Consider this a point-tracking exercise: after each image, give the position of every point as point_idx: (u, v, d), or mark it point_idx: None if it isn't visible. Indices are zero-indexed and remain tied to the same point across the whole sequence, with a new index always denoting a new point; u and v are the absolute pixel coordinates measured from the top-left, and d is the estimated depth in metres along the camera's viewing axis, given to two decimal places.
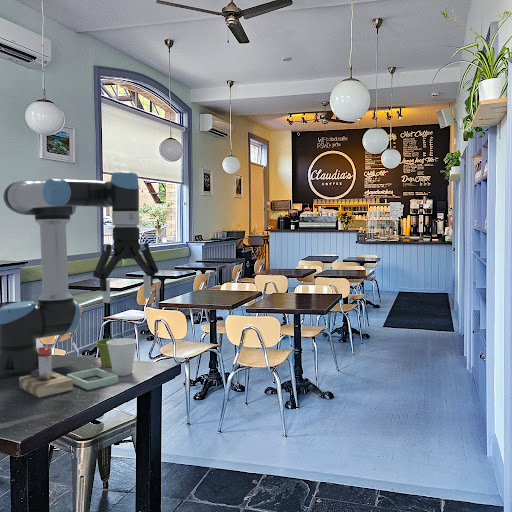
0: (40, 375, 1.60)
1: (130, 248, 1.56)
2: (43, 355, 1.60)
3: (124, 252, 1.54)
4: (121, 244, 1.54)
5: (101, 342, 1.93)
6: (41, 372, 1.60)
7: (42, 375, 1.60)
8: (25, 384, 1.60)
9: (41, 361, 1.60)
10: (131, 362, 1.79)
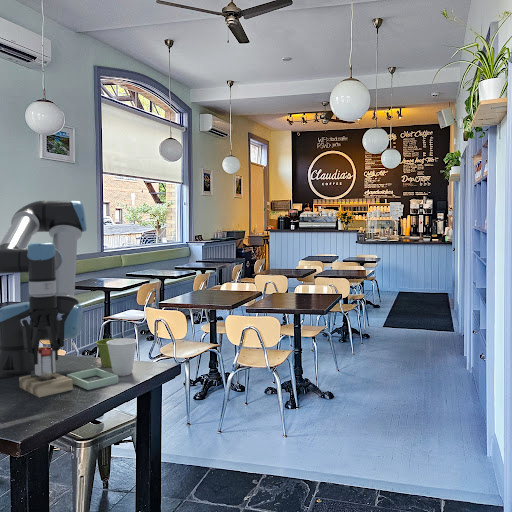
0: None
1: (47, 315, 1.60)
2: (43, 355, 1.60)
3: (42, 321, 1.58)
4: (35, 312, 1.58)
5: (101, 342, 1.93)
6: (41, 372, 1.60)
7: (42, 375, 1.60)
8: (25, 384, 1.60)
9: (41, 361, 1.60)
10: (131, 362, 1.79)
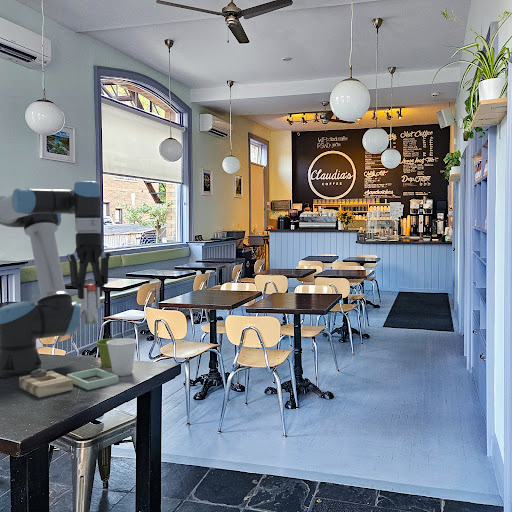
0: (86, 310, 1.65)
1: (93, 251, 1.65)
2: (89, 290, 1.65)
3: (88, 257, 1.64)
4: (82, 248, 1.63)
5: (101, 342, 1.93)
6: (87, 306, 1.65)
7: (88, 310, 1.65)
8: (25, 384, 1.60)
9: (87, 296, 1.65)
10: (131, 362, 1.79)
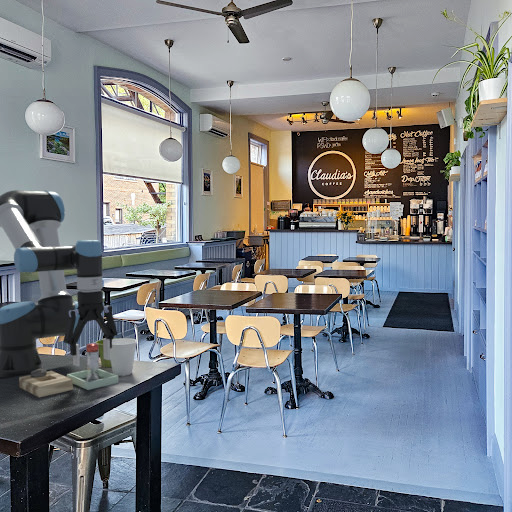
0: (88, 370, 1.66)
1: (94, 310, 1.66)
2: (91, 351, 1.66)
3: (88, 315, 1.65)
4: (84, 307, 1.64)
5: (101, 342, 1.93)
6: (89, 367, 1.66)
7: (90, 370, 1.66)
8: (25, 384, 1.60)
9: (89, 357, 1.66)
10: (131, 362, 1.79)
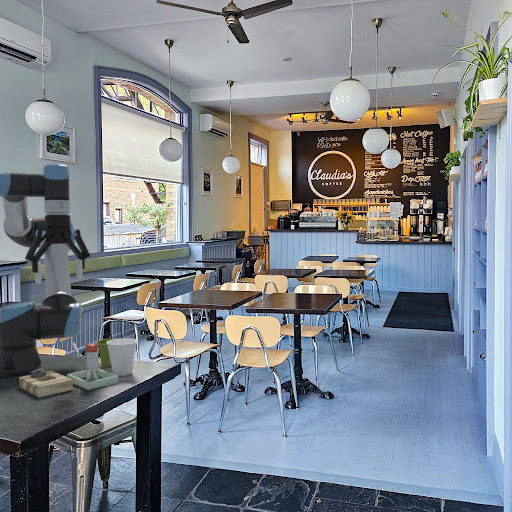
0: (87, 370, 1.66)
1: (61, 234, 1.71)
2: (90, 351, 1.66)
3: (55, 237, 1.69)
4: (52, 230, 1.69)
5: (101, 342, 1.93)
6: (88, 367, 1.66)
7: (89, 370, 1.66)
8: (25, 384, 1.60)
9: (89, 357, 1.66)
10: (131, 362, 1.79)
